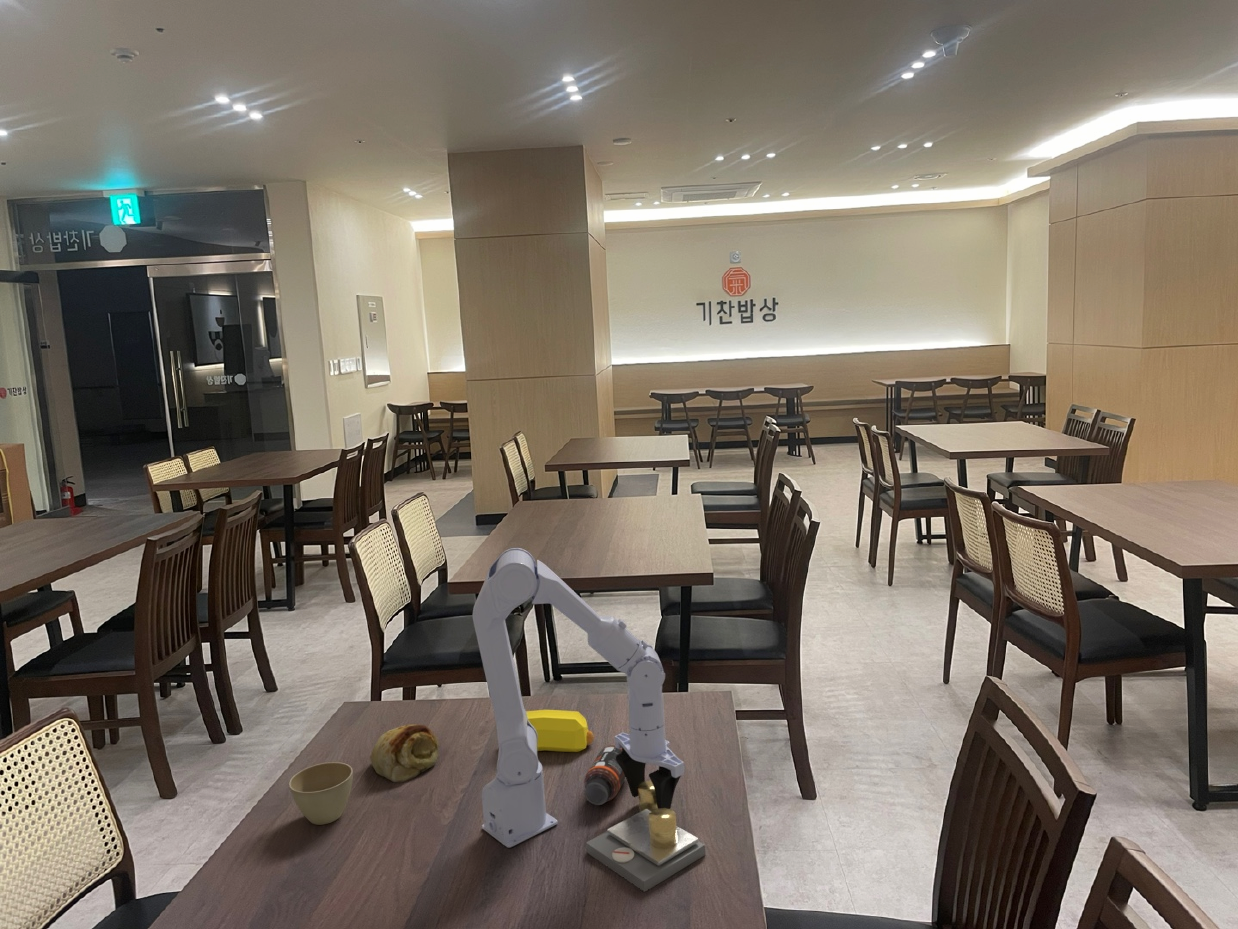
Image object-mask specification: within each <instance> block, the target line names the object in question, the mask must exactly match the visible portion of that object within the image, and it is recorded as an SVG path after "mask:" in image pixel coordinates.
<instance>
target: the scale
mask: <svg viewBox="0 0 1238 929" xmlns="http://www.w3.org/2000/svg"><path fill="white" fill-rule="evenodd" d="M585 846H586V853H587V854H588V855H590V856H591V857H592V858H594V859H596V860H597V861H598V860H599V861H598V862H600V863H601V864H603V865H604V866H606V865H607V866H608V867H607V866H606V867H607V868H609V869H610V868H611V869H610V870H612V871H613V872H615V871H616V872H617V873H618V874H617V873H616V872H615V873H616V874H617V875H619V876H620V877H622V878H623V877H624V878H623V879H625V880H626V879H627V880H626V881H627V882H629V883H631V884H632V883H633V884H634V885H633V884H632V885H633V886H634V887H637V888H638V889H639V888H640V889H639V890H641V889H642V890H643V892H644V893H645V891H646V892H647V891H649V890H651V889H652V888H654V887H655V886H657V885H659V884H660V883H662V882H664V881H666V880H667V879H668V878H670V877H672V876H673V875H674V874H676V873H678V872H679V871H681V870H683V869H685V868H686V867H688V866H689V865H691V864H693V863H695V862H696V861H698V860H699V859H702V858H703V857H704V856H706V844H705V843H702V842H701V841H699V842H698V843H696V844H695V845H693V846H691V847H690V848H688V849H686V850H685V851H683V852H681V853H679V854H678V855H676V856H674V857H673V858H671V859H669V860H668V861H666V862H664V863H663V864H661V865H659V866H658V865H656V864H655V863H653V862H652V861H650V860H648V859H647V858H645V857H644V856H642V855H641V854H639V853H637V852H636V851H634V850H633V849H631V848H630V847H628V846H627V845H625V844H623V843H622V842H620V841H619V840H617V839H616V838H614V837H612V836H611V835H609V834H608V833H607V831H605V832H603V833H601V834H599V835H597V836H595V837H594V838H592V839H590V840H588V841H586V842H585ZM648 889H649V890H648ZM642 890H641V891H642Z"/></svg>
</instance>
